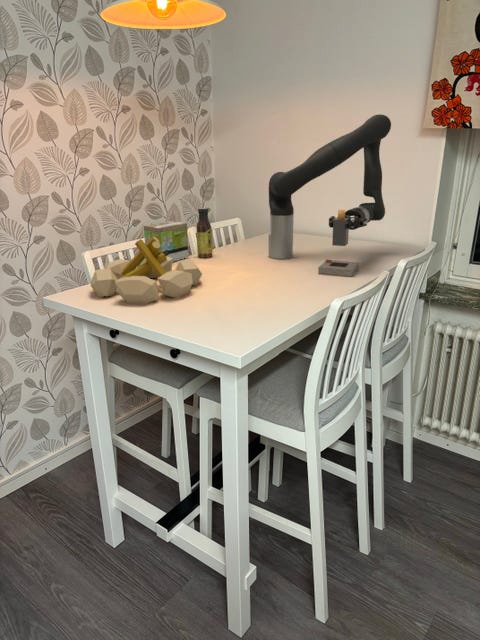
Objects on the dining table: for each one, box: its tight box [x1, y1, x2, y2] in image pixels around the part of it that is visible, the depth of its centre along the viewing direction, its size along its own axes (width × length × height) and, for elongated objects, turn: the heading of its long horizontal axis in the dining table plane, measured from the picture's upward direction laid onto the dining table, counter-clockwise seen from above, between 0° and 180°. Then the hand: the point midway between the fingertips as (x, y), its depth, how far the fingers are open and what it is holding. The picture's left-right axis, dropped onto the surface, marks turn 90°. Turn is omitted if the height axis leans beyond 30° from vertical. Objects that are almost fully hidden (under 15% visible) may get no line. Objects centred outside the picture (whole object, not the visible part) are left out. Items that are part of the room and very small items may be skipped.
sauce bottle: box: [196, 207, 213, 259], centre depth 200 cm, size 7×6×20 cm
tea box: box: [143, 220, 189, 263], centre depth 197 cm, size 15×10×15 cm, turn 143°
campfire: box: [89, 236, 203, 305], centre depth 160 cm, size 35×34×17 cm
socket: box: [317, 258, 360, 278], centre depth 177 cm, size 12×12×3 cm
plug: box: [331, 209, 350, 247], centre depth 172 cm, size 5×5×12 cm
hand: (338, 225), depth 170 cm, fingers closed on plug, 5 cm apart
